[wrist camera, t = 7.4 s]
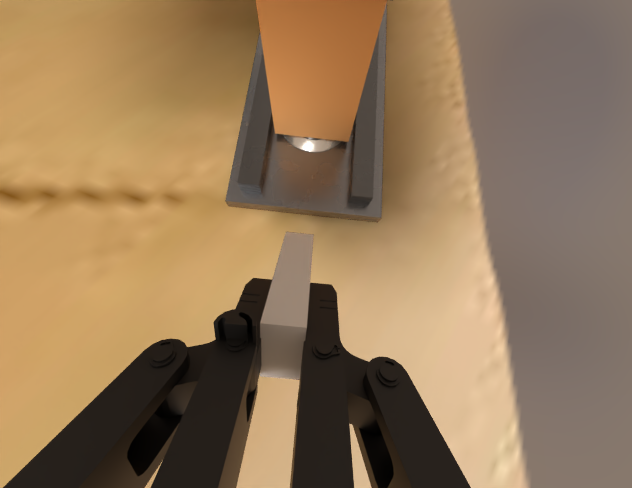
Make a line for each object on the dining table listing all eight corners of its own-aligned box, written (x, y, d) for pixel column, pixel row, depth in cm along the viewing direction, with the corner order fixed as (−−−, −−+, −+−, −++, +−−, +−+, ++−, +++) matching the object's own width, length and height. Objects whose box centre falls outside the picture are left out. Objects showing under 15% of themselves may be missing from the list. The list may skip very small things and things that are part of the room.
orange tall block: (350, 144, 21) (400, -29, 11) (272, 135, 21) (242, -50, 10) (354, 91, 23) (401, -108, 12) (280, 82, 22) (262, -128, 12)
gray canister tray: (377, 222, 21) (470, 108, 9) (228, 206, 21) (137, 67, 9) (384, -16, 29) (441, -241, 17) (275, -31, 28) (258, -270, 17)
